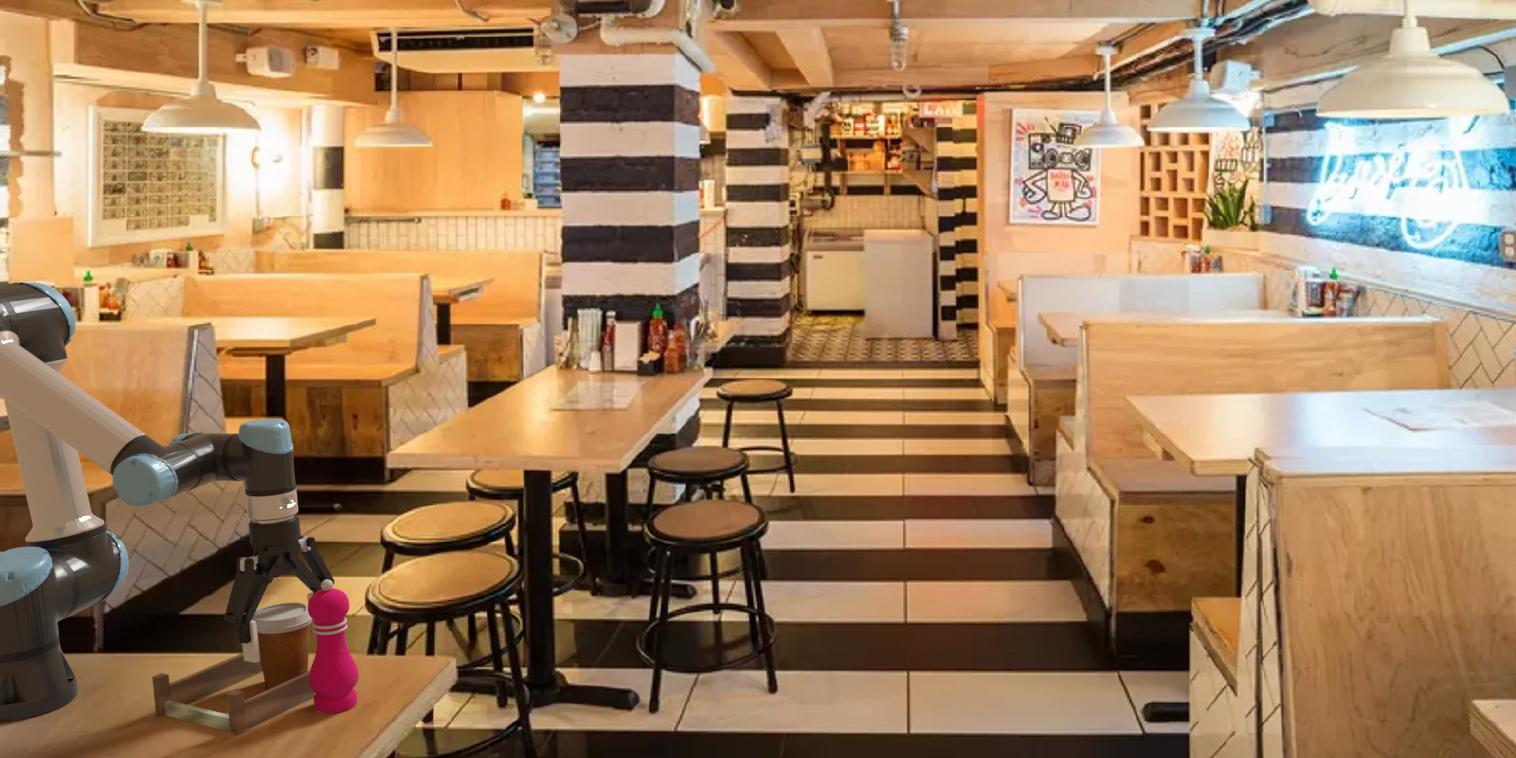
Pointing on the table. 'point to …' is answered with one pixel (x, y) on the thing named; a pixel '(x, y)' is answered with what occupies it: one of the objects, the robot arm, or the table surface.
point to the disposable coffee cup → (283, 641)
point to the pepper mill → (331, 652)
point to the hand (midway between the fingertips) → (286, 646)
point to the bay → (217, 677)
